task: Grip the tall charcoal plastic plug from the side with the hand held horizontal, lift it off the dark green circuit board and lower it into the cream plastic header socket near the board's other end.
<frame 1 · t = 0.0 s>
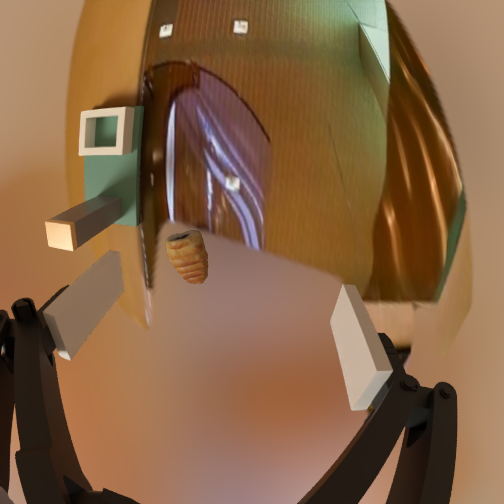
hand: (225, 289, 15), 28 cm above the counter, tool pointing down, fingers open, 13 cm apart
plug: (109, 206, 42), point 1 cm above the counter, touching circuit board
header: (113, 131, 38), resting on circuit board
circuit board: (112, 165, 40), on the counter
pastry: (191, 251, 46), on the counter
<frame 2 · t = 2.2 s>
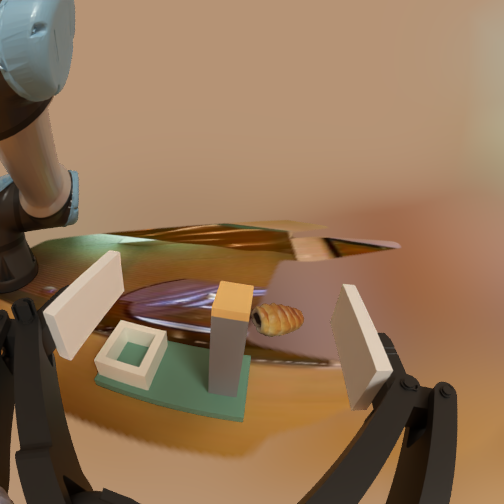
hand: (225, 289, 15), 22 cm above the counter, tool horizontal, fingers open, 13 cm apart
plug: (225, 380, 33), point 1 cm above the counter, touching circuit board
header: (135, 365, 34), resting on circuit board
circuit board: (174, 376, 34), on the counter
pastry: (274, 325, 48), on the counter
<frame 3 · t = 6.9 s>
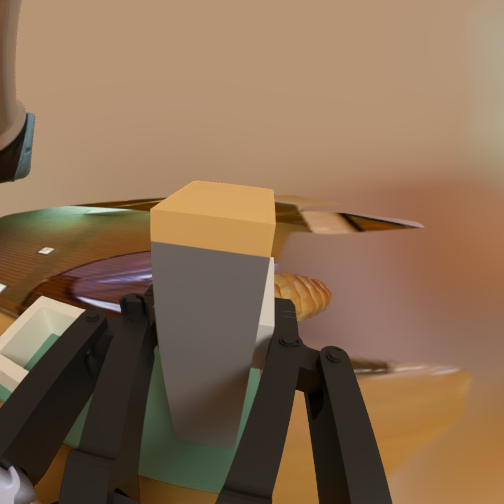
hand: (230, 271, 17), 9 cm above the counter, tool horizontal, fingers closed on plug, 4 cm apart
plug: (211, 414, 15), point 1 cm above the counter, touching circuit board, gripper
header: (58, 374, 16), resting on circuit board
circuit board: (118, 399, 16), on the counter
pastry: (286, 307, 31), on the counter
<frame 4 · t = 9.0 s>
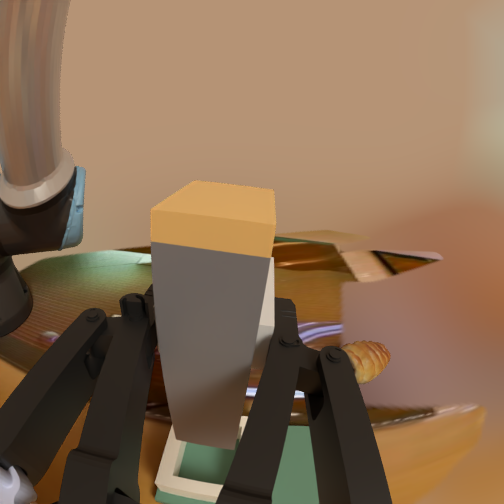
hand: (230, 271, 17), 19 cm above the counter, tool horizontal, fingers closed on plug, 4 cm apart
plug: (210, 414, 15), point 11 cm above the counter, touching gripper
header: (209, 465, 20), resting on circuit board
circuit board: (271, 472, 20), on the counter
pastry: (358, 367, 35), on the counter
when the fingers open (10 cm above the counter, at t = 11.3 s): plug stays where it is, resting on circuit board.
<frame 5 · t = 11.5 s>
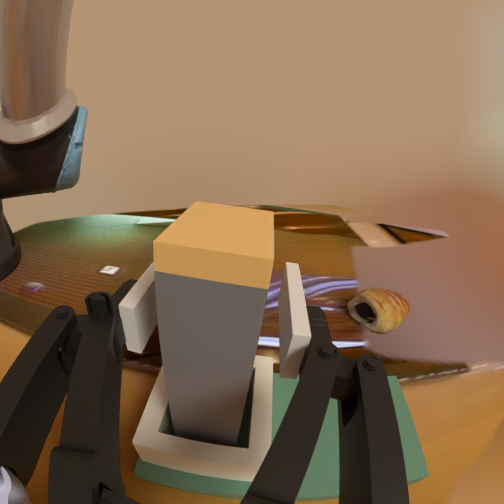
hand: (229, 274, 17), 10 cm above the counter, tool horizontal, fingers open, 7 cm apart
plug: (211, 421, 16), point 1 cm above the counter, touching circuit board
header: (210, 428, 16), resting on circuit board
circuit board: (293, 436, 16), on the counter
pastry: (376, 318, 32), on the counter
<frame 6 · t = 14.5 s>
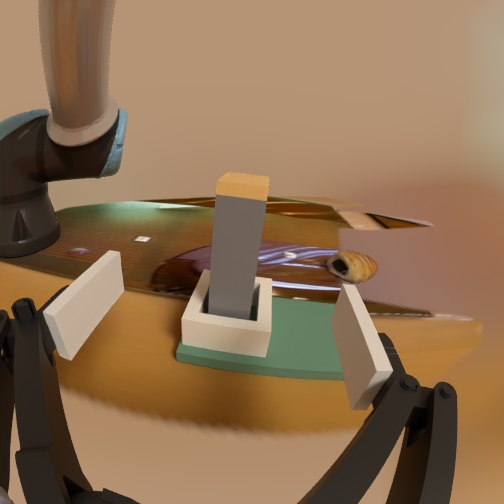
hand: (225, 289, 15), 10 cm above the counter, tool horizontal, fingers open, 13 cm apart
plug: (230, 321, 27), point 1 cm above the counter, touching circuit board
header: (229, 330, 27), resting on circuit board
circuit board: (287, 337, 27), on the counter
pastry: (350, 274, 43), on the counter
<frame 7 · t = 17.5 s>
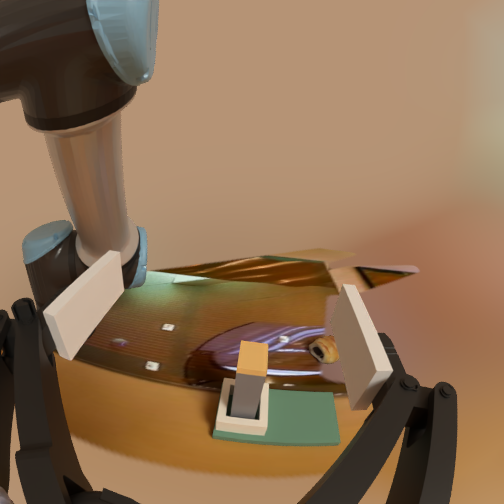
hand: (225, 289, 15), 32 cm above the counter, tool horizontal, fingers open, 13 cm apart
plug: (242, 411, 38), point 1 cm above the counter, touching circuit board
header: (241, 414, 39), resting on circuit board
circuit board: (277, 418, 39), on the counter
pastry: (327, 353, 55), on the counter
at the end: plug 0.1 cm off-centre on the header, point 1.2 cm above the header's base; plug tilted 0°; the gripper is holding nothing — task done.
